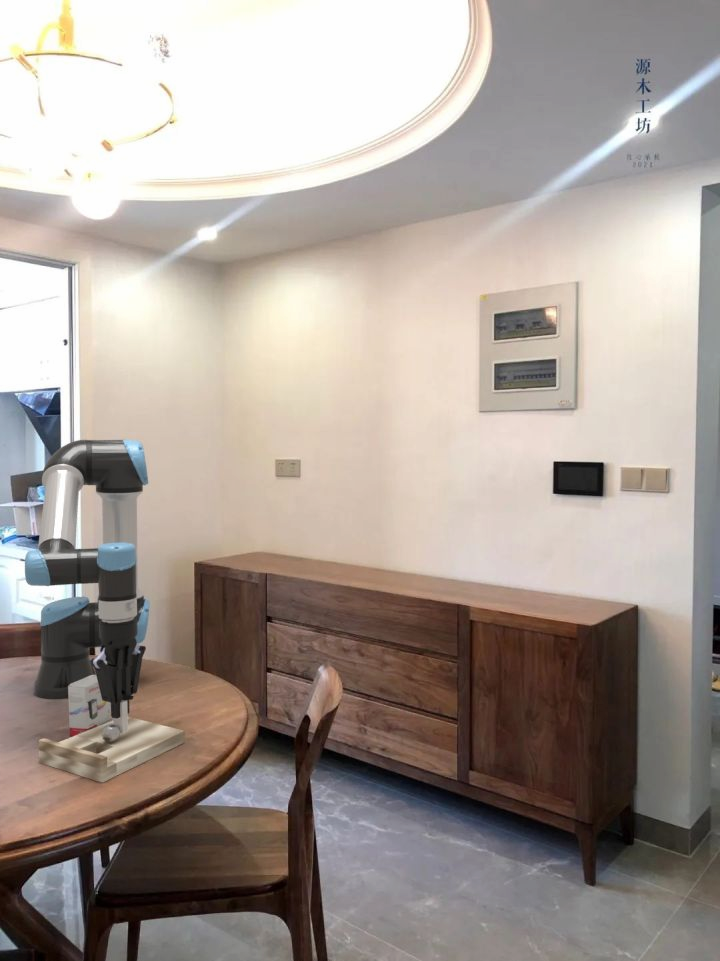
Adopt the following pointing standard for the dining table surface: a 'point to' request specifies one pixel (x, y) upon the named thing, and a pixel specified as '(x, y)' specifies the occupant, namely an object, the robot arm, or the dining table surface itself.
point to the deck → (109, 749)
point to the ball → (110, 733)
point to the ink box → (86, 706)
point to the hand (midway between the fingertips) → (120, 731)
